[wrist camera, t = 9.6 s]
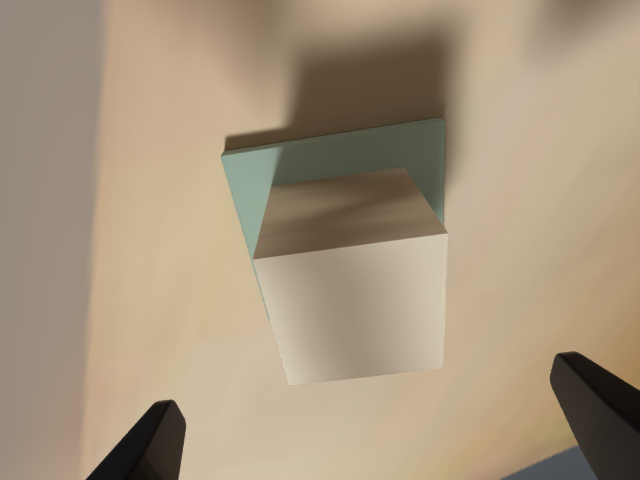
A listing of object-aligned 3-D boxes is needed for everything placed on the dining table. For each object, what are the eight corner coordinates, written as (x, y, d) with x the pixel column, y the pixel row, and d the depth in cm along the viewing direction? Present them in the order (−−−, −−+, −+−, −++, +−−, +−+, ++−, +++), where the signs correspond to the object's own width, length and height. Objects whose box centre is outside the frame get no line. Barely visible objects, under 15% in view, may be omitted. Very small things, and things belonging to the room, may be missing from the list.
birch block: (404, 166, 13) (448, 233, 9) (407, 275, 16) (443, 368, 12) (271, 186, 14) (252, 259, 9) (295, 290, 16) (288, 385, 12)
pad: (439, 117, 13) (445, 121, 13) (437, 290, 17) (440, 298, 17) (223, 151, 14) (220, 156, 13) (270, 312, 18) (269, 321, 17)
